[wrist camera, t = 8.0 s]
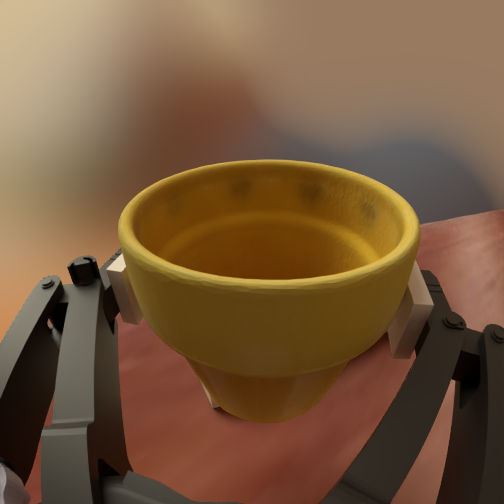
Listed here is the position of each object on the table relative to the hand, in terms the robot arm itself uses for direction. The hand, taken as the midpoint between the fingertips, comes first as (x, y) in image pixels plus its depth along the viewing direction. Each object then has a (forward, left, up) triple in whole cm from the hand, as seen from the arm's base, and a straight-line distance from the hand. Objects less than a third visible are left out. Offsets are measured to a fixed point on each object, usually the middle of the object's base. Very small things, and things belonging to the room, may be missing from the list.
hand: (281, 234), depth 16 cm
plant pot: (+3, +3, -6) cm, 7 cm away
